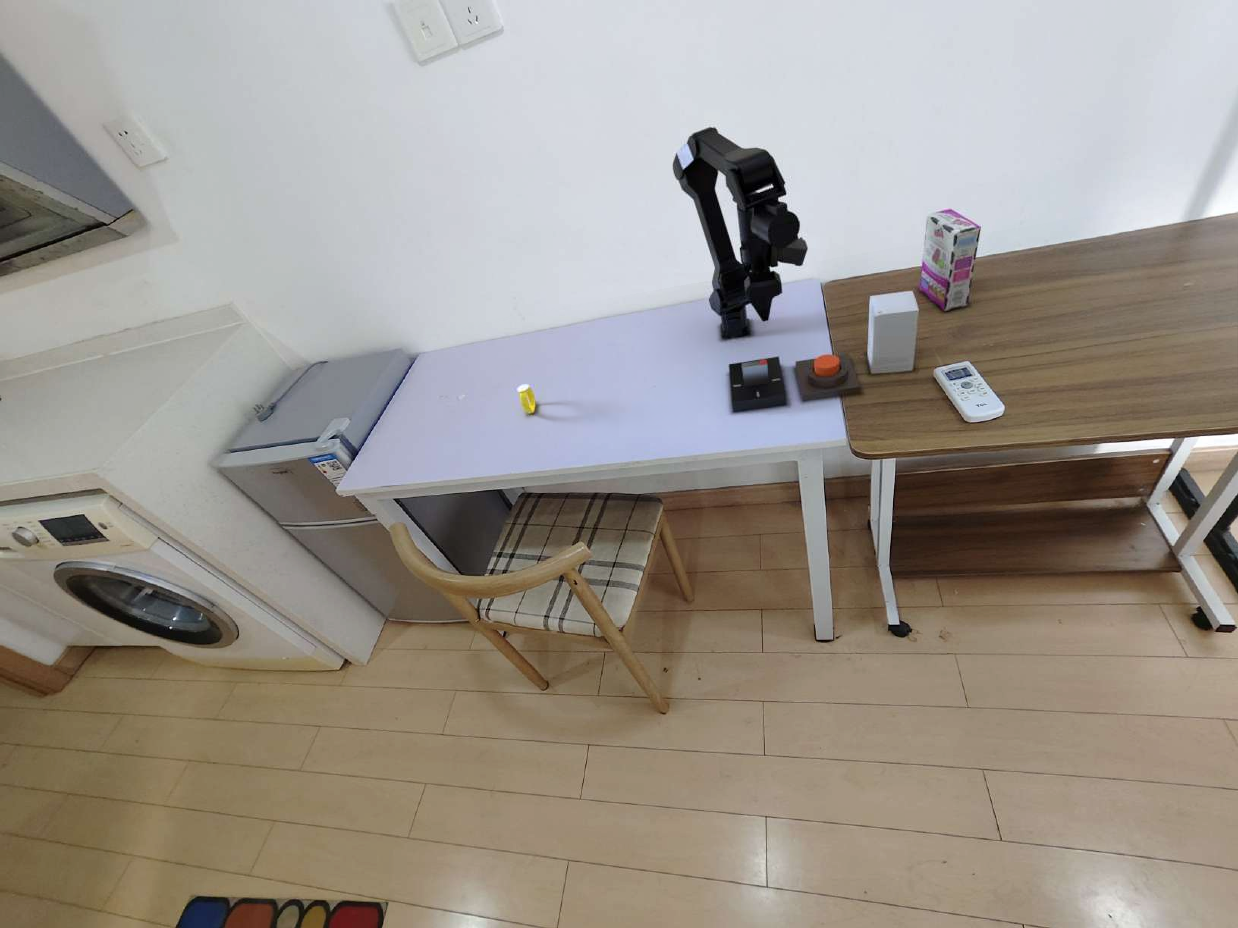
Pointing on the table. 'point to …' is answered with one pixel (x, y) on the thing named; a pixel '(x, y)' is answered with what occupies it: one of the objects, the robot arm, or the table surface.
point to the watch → (523, 392)
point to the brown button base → (827, 380)
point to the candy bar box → (949, 258)
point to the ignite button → (826, 365)
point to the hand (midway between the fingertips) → (763, 308)
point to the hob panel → (757, 388)
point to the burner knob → (755, 373)
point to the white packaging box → (892, 332)
